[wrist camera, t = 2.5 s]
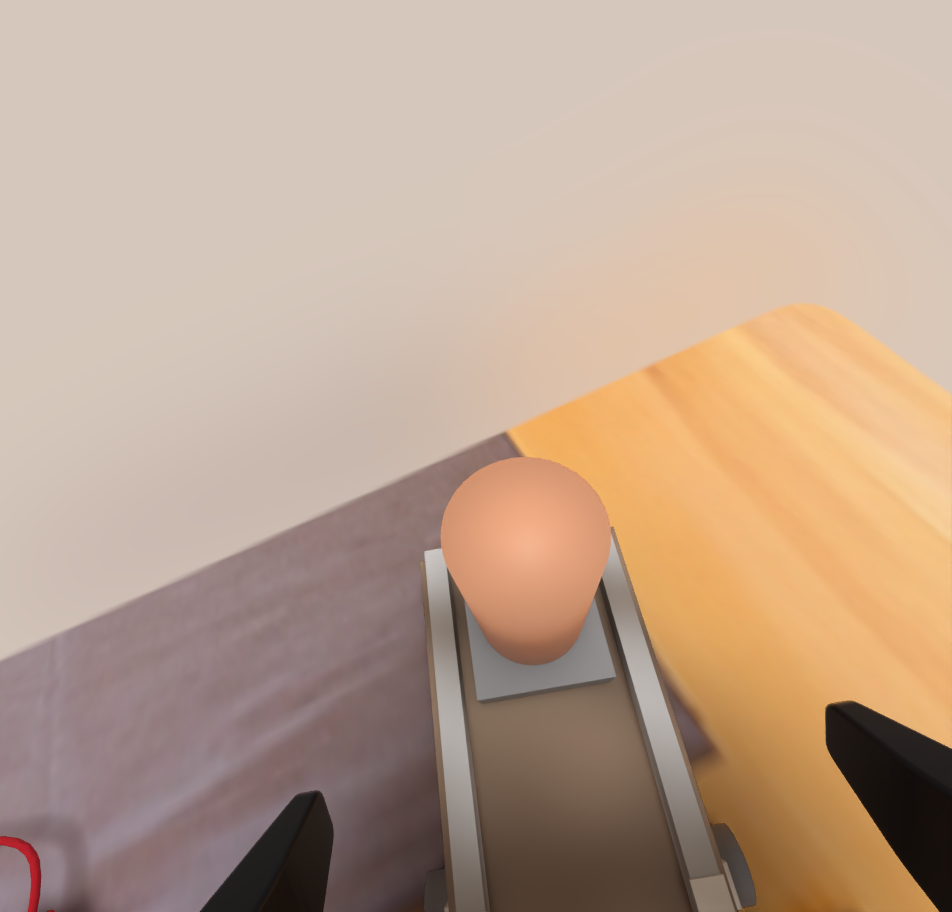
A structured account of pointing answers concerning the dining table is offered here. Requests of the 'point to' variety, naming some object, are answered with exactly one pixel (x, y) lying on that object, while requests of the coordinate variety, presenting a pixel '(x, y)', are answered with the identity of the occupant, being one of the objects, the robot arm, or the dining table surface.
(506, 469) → the rider
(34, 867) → the alarm clock
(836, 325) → the dining table surface
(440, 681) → the brown piece
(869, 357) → the dining table surface
